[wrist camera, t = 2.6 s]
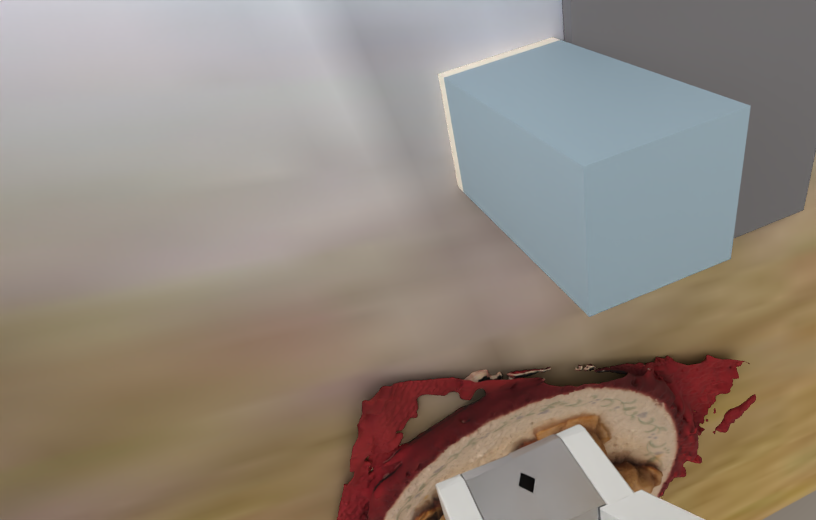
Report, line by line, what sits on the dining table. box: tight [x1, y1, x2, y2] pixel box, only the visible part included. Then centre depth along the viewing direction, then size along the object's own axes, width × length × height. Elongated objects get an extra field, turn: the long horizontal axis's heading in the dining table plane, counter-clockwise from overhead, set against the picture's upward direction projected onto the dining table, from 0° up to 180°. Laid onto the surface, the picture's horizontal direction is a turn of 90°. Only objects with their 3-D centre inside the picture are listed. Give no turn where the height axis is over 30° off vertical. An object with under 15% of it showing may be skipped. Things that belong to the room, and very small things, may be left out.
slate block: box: [438, 37, 751, 317], centre depth 20 cm, size 5×5×10 cm
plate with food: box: [337, 355, 756, 520], centre depth 38 cm, size 24×26×3 cm
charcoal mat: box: [562, 0, 816, 238], centre depth 26 cm, size 14×22×1 cm, turn 13°
